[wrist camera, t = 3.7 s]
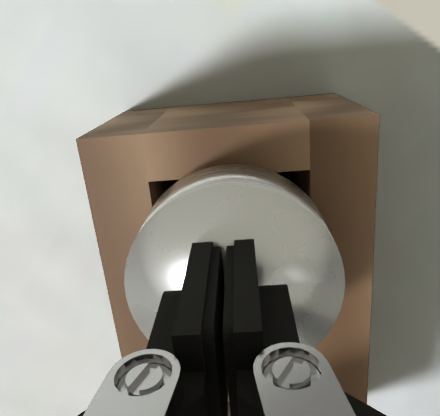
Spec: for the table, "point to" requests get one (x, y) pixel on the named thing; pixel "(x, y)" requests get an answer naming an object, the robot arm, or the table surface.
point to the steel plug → (238, 230)
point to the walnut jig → (253, 156)
